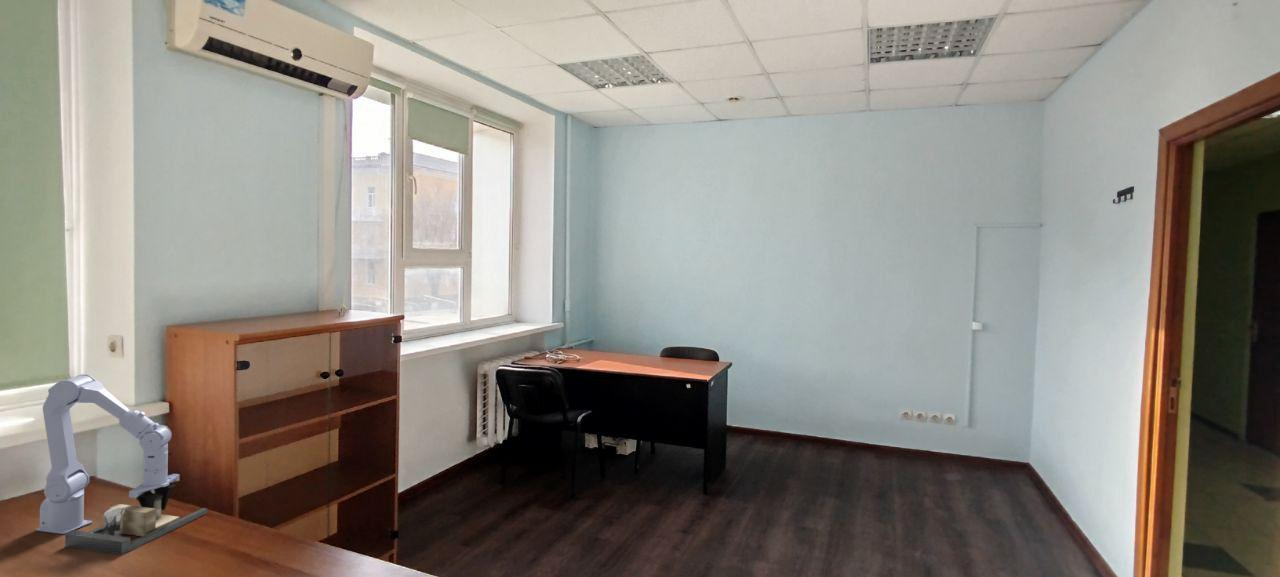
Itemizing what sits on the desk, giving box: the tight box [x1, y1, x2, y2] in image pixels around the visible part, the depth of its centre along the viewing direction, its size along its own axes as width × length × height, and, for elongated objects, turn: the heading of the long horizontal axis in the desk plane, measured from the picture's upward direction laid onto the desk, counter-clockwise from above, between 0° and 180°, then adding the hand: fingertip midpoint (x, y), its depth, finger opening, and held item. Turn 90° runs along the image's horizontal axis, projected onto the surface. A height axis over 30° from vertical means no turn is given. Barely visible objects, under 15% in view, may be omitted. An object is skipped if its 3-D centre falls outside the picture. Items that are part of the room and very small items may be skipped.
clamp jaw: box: [108, 492, 181, 537], centre depth 180 cm, size 12×11×8 cm
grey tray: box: [64, 507, 208, 556], centre depth 179 cm, size 18×28×4 cm, turn 172°
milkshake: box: [103, 507, 125, 537], centre depth 171 cm, size 4×5×10 cm
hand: (154, 512), depth 183 cm, fingers open, 4 cm apart
